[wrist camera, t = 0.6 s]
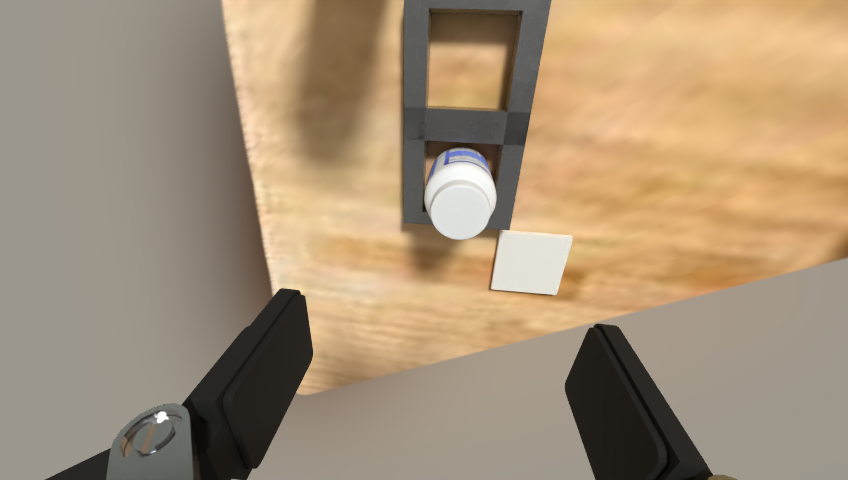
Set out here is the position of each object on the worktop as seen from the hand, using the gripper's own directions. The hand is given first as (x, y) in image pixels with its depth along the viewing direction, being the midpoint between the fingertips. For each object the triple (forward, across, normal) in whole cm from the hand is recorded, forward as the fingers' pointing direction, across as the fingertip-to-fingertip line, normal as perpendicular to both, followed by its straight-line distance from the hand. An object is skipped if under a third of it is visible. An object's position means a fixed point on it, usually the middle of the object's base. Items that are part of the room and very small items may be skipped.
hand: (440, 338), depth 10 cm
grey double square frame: (+21, -1, -4) cm, 22 cm away
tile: (+21, -9, +9) cm, 25 cm away
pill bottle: (+22, -1, 0) cm, 22 cm away
